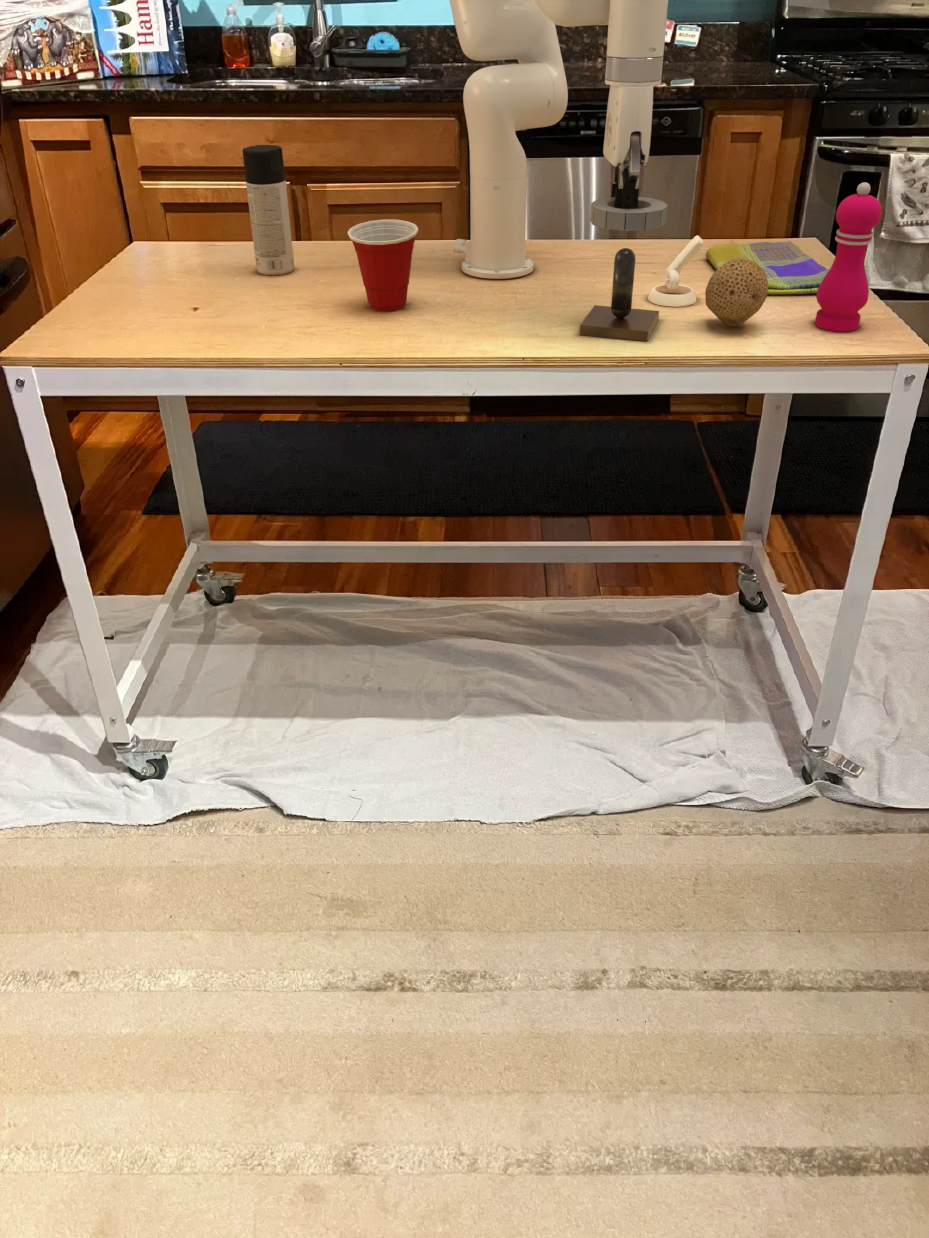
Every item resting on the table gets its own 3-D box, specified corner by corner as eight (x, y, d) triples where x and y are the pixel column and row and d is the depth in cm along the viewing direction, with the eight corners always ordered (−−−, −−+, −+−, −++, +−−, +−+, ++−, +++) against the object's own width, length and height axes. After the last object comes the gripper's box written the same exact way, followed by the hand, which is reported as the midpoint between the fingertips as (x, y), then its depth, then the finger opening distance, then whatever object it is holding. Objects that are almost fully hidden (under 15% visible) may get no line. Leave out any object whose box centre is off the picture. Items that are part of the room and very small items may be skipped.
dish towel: (734, 297, 163) (737, 279, 162) (702, 257, 184) (704, 241, 182) (842, 295, 164) (845, 277, 162) (798, 255, 184) (801, 239, 182)
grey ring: (579, 226, 141) (580, 208, 140) (606, 211, 149) (607, 194, 147) (651, 234, 137) (652, 215, 136) (674, 218, 145) (676, 200, 143)
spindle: (579, 335, 149) (583, 254, 142) (593, 314, 157) (598, 237, 150) (647, 341, 146) (654, 260, 140) (658, 320, 154) (666, 242, 147)
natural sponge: (760, 339, 146) (771, 269, 141) (698, 334, 149) (706, 265, 143) (762, 320, 154) (773, 252, 148) (703, 315, 156) (711, 248, 150)
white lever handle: (735, 273, 156) (704, 249, 153) (681, 332, 163) (650, 310, 159) (722, 250, 161) (692, 227, 158) (670, 308, 168) (640, 286, 165)
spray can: (302, 269, 179) (290, 146, 168) (277, 278, 175) (263, 152, 163) (274, 264, 182) (260, 143, 171) (248, 273, 178) (232, 149, 166)
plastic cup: (341, 313, 158) (334, 233, 152) (369, 293, 167) (365, 217, 160) (405, 320, 155) (401, 239, 148) (431, 300, 164) (428, 222, 157)
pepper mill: (854, 336, 147) (885, 190, 136) (805, 328, 150) (831, 184, 139) (867, 322, 152) (898, 180, 141) (819, 315, 155) (845, 175, 144)
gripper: (596, 66, 142) (589, 204, 153) (616, 79, 129) (606, 229, 139) (649, 65, 143) (638, 203, 153) (674, 78, 129) (660, 228, 140)
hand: (623, 214), depth 146 cm, fingers closed on grey ring, 2 cm apart
